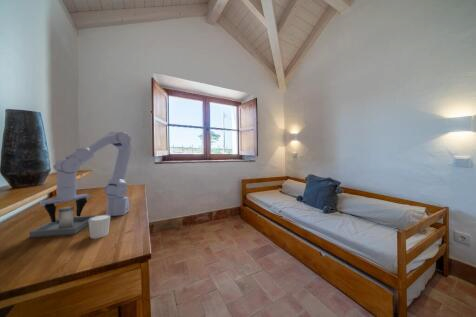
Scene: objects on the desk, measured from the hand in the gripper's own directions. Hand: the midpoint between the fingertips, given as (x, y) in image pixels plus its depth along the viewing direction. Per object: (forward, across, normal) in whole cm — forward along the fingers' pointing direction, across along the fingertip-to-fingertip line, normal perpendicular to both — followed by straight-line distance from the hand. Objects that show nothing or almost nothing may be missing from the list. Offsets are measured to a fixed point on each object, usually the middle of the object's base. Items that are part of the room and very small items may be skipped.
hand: (66, 218), depth 71 cm
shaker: (+4, 0, 0) cm, 4 cm away
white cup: (+4, -5, +18) cm, 19 cm away
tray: (+4, 0, 0) cm, 4 cm away
